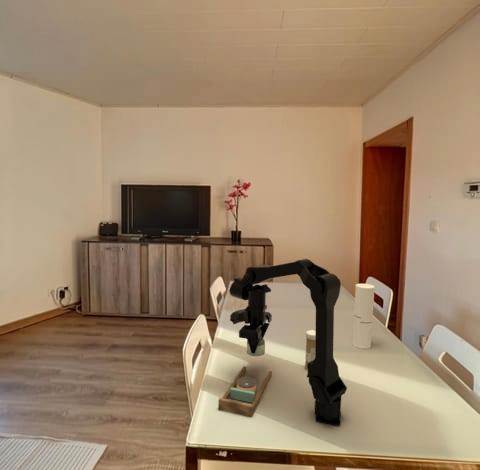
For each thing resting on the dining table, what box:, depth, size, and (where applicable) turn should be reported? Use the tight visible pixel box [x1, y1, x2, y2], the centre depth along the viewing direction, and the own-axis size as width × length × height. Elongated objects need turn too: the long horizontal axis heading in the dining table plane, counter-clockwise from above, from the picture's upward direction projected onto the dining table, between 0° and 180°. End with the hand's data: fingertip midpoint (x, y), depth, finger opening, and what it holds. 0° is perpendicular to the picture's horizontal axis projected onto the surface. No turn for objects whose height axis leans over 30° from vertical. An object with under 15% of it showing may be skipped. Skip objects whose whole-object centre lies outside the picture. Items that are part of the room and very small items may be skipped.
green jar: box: [246, 338, 266, 357], centre depth 117 cm, size 6×6×4 cm
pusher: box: [229, 387, 256, 404], centre depth 105 cm, size 7×1×3 cm, turn 71°
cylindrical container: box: [352, 283, 375, 350], centre depth 143 cm, size 7×7×25 cm
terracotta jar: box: [236, 375, 257, 396], centre depth 109 cm, size 6×6×4 cm
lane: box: [218, 365, 273, 418], centre depth 110 cm, size 10×23×3 cm, turn 162°
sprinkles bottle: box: [304, 329, 316, 371], centre depth 124 cm, size 5×5×13 cm
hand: (255, 349), depth 117 cm, fingers closed on green jar, 6 cm apart
